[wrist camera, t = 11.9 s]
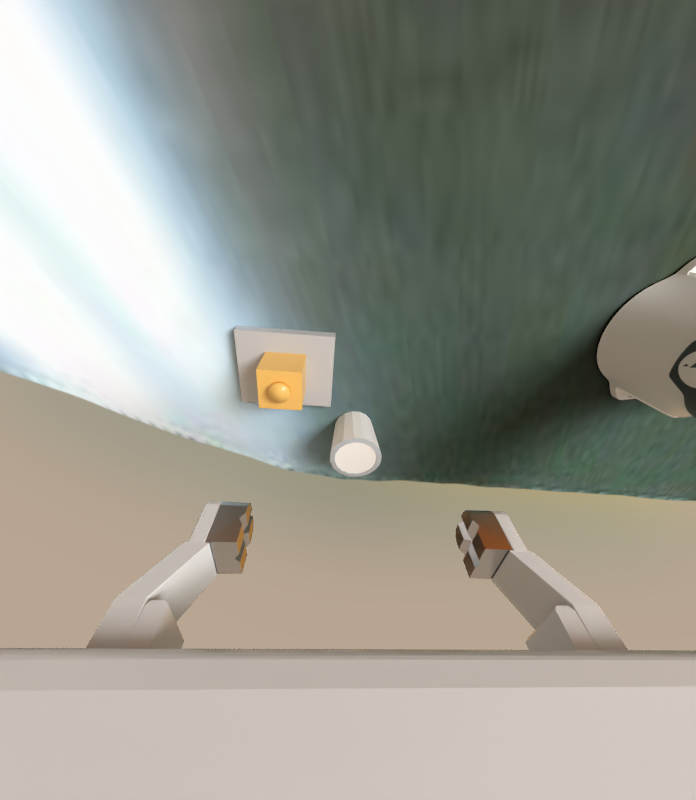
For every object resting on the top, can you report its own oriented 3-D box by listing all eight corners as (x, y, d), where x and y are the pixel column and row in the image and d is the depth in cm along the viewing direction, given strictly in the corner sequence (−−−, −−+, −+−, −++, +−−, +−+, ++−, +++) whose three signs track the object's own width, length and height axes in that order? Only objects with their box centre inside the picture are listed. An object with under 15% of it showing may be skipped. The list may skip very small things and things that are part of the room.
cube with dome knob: (306, 354, 38) (301, 375, 33) (305, 389, 40) (301, 413, 35) (265, 351, 37) (254, 372, 32) (267, 387, 40) (257, 411, 35)
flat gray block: (335, 332, 38) (334, 348, 34) (330, 400, 43) (329, 421, 39) (237, 325, 37) (224, 340, 33) (244, 395, 42) (234, 416, 38)
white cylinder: (322, 419, 45) (319, 450, 39) (364, 400, 43) (368, 430, 37) (343, 450, 48) (344, 484, 42) (383, 434, 47) (390, 466, 41)
